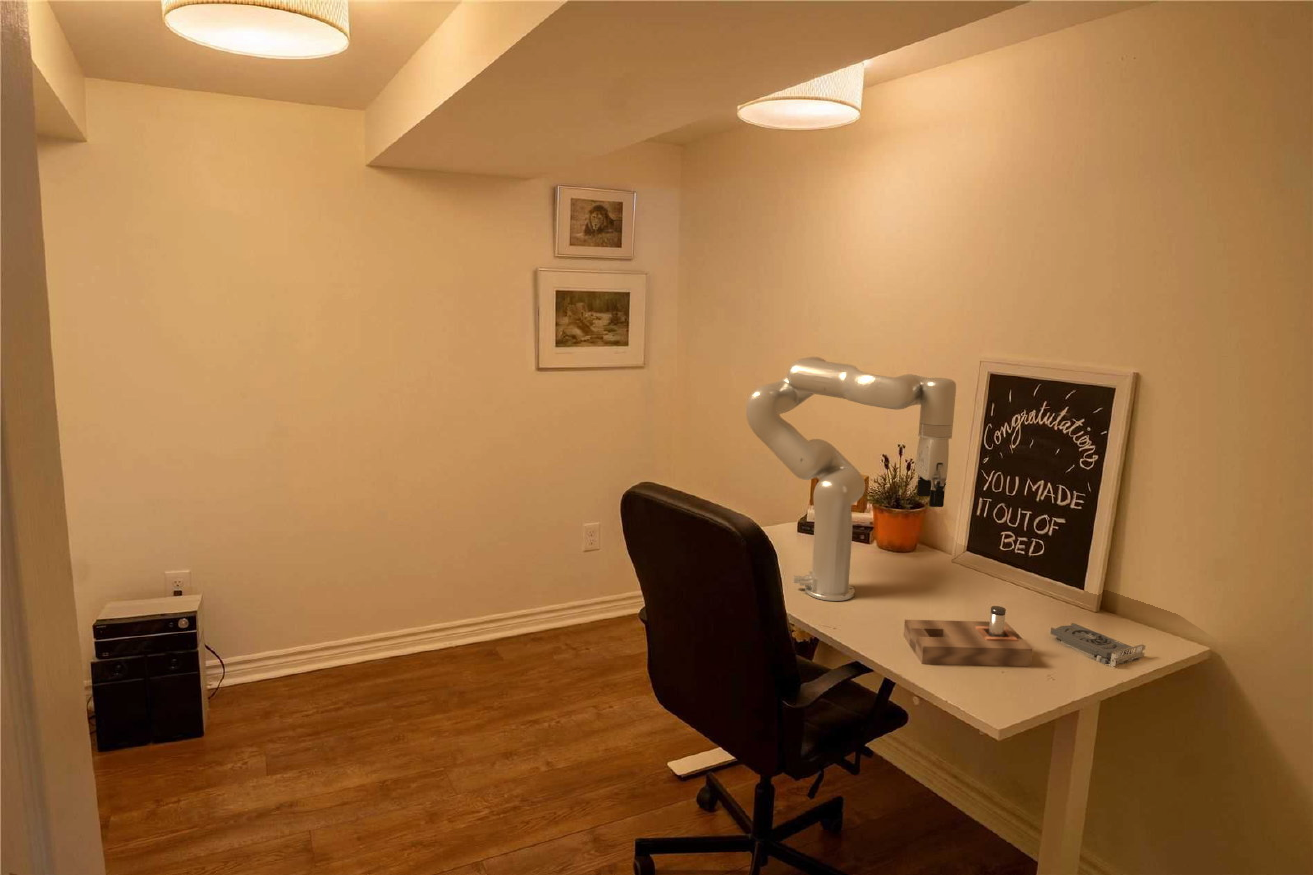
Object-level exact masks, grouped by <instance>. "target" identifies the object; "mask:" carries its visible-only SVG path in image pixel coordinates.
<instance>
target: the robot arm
mask: <svg viewBox="0 0 1313 875" xmlns="http://www.w3.org/2000/svg"><path fill="white" fill-rule="evenodd" d="M956 394H957V384H956V382H955V380H953V379H951V378H944V377H926V376H921V375H917V374H911V373H910V374H903V375H900V376H895V377H892V376H886V375H880V374H879V375H878V374H873V373H868V372H864V371H863V370H862V371H861V370H860V369H858V368H857V367H856V366H855V365H852V364H848V363H847V364H846V363H840V362H832V361H827V360H825V359H823V358H821V357H819V356H808V357H805V358H804V357H803V358H799V359H797V360H794V361H793V362H792V363H791V364H790V365H789V367H788V369H787V373H786V376H784V377H783V378H781V379H780V380H779V381H777V382H771V383H766V384H764V385H760V386H759V387H757V388H755V389H754V390H753V391H752V392H751V393H750V395H749V396H748V399H747V401H746V405H745V416H746V422H747V424H748V426H749V427H750V430H751V431H752V432H753V434H754V435H755V436H756V437H758V439H759V440H760V441H761V442H762V443H763V444H764V445H765V446H766V447H767V448H769V450H770V451H771V452H772V453H773V454H774V455H775V456H776V457H777V459H779V460H780V461H781V462H782V463H783V465H784V466H786V468H787V469H788V470H789V471H790V472H791V473H792V474H793V475H794V476H795V477H796V478H798V479H800V480H802V481H809V480H812V479H815V478H816V479H817V480H819V481H818V482H817V483H816V485H815V487H814V490H813V509H814V510H813V511H814V526H813V546H812V547H813V548H812V563H811V564H812V565H811V571H809V572H808V574H805V576H803V575H793V577H792V578H793V579H792V581H793V582H792V583H793V584H799V586H801V587H803V586H804V592H805V593H806V594H807V595H809V596H810V597H813V598H815V599H818V600H823V601H829V602H831V601H832V602H840V601H842V602H843V601H848V600H850V599H852V598H853V597H854V596H855V592H856V591H855V589H854V587H853V586H851V585H850V574H851V573H850V571H851V570H850V569H851V559H852V557H851V556H852V542H853V541H852V539H853V517H852V516H853V515H852V505H853V504H855V503H857V502H858V501H859V500H860V499H861V498H862V497H863V495H864V494H865V490H866V482H865V479H864V477H863V475H862V474H861V472H860V471H859V470H858V469H857V468H856V466H854V465H853V464H852V463H851V462H850V461H849V460H848V459H847V458H846V457H845V456H844V455H843V453H841V452H840V451H839V450H838V449H837V448H836V447H835V446H834V445H832V444H831V443H830V442H828V441H827V440H824V439H820V438H813V439H809V440H808V439H807V438H806V437H804V435H803V434H802V433H800V432H799V431H798V429H797V428H796V427H794V426H793V425H792V424H791V423H789V422H788V421H787V420H785V419H784V418H782V417H781V415H783V414H786V413H788V412H790V411H792V410H794V409H795V408H797V407H798V406H800V405H801V404H802V403H804V402H805V401H806V400H808V399H809V398H811V397H812V396H814V395H819V396H826V397H831V398H837V399H843V400H847V401H850V402H854V403H857V404H861V405H865V406H871V407H876V408H880V409H881V408H882V409H889V410H904V409H907V408H909V407H912V406H920V410H919V411H920V412H919V420H918V421H919V424H918V437H919V439H918V444H917V451H916V459H915V467H914V471H915V473H916V474H917V485H916V487H917V488H916V496H918V497H929V502H928V506H929V507H930V508H943V507H944V504H945V502H944V501H945V493H946V486H947V482H946V481H947V477H948V472H949V470H948V469H949V457H950V456H949V452H950V451H949V446H950V444H949V443H950V442H949V440H951V439H952V438H953V431H954V430H953V428H954V416H955V406H956V397H957V395H956Z"/></svg>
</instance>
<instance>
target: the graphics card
mask: <svg viewBox="0 0 1313 875" xmlns="http://www.w3.org/2000/svg"><path fill="white" fill-rule="evenodd" d="M1049 633H1050V634H1051V635H1052V636H1055V637H1057V640H1060V642H1061V643H1062V644H1064V645H1065V646H1069V647H1071V648H1073V649H1075V650H1077V651H1079V652H1082V653H1084V654H1087V655H1089V656H1087V655H1085V657H1087V658H1088V659H1090V660H1093V659H1094V660H1093V661H1095V662H1098V663H1100V664H1102V665H1104V666H1106V667H1109V668H1113V669H1115V667H1116V665H1119V664H1121V665H1126V664H1128V662H1129V661H1130V662H1135V661H1139V660H1140V659H1141V658H1143V657H1145V652H1144V650H1146V644H1143V643H1141V644H1139V645H1138V644H1137V645H1134V646H1131V645H1129V644H1126V643H1124V642H1122V641H1119V640H1116V639H1114V638H1111V637H1109V636H1107V635H1105V634H1102V633H1100V632H1097V631H1094V630H1092V629H1088V628H1087V627H1084V626H1082V625H1079V624H1077V623H1074V622H1072V623H1070V625H1060V626H1059V627H1056V628H1054V627H1050V632H1049ZM1090 656H1091V657H1090ZM1095 657H1096V658H1095ZM1096 659H1097V660H1096ZM1105 664H1110V666H1109V665H1105ZM1115 664H1116V665H1115Z"/></svg>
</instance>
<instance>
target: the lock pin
mask: <svg viewBox="0 0 1313 875" xmlns="http://www.w3.org/2000/svg"><path fill="white" fill-rule="evenodd" d="M1006 611H1007V609H1006V608H1005V607H1004V606H999V605H993V606H991V607H990V612H989V613H990V615H989V622H990V623H989V633H988V635H989V636H990V637H1003V632H1004V623H1005V622H1006V621H1005V620H1006Z"/></svg>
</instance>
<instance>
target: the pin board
mask: <svg viewBox="0 0 1313 875" xmlns="http://www.w3.org/2000/svg"><path fill="white" fill-rule="evenodd" d="M989 623H990V621H985V620H984V621H982V620H980V621H979V620H978V621H977V620H976V621H975V620H942V619H941V620H940V619H939V620H938V619H936V620H935V619H904V626H903V627H904V628H903V637H904V639H905V640H906V642H907V643H908V645H909V647H910V648H911V650H912V651H913V653H914V654H915V655H916V658H917V659H918V660H919V661H920V663H921V665H949V666H951V665H952V666H953V665H956V666H960V665H961V666H989V667H992V666H993V667H995V666H996V667H998V666H1002V667H1029V668H1031V666H1032V659H1033V658H1032V657H1033V648H1032V647H1031V646H1030V645H1029V643H1027V642H1026V640H1024V638H1022V636H1020V634H1019V633H1018V632H1017V631H1016V630H1015V629H1013V627H1012V626H1011V625H1009V623H1008V622H1007V621H1005V623H1004V632H1003V637H990V636H989V635H988V633H989Z"/></svg>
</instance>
